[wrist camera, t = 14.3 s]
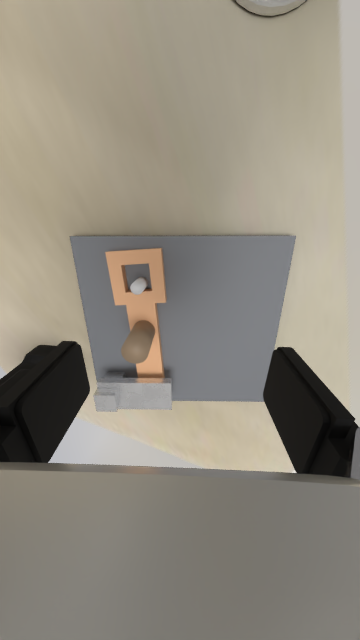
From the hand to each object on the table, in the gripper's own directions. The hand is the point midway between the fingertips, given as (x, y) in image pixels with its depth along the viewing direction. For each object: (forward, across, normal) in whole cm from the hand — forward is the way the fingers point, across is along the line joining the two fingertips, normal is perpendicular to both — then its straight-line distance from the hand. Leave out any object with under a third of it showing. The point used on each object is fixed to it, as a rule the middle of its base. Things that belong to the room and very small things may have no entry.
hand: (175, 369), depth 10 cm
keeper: (+20, +7, +17) cm, 28 cm away
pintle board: (+21, 0, +8) cm, 22 cm away
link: (+19, +5, +7) cm, 21 cm away
